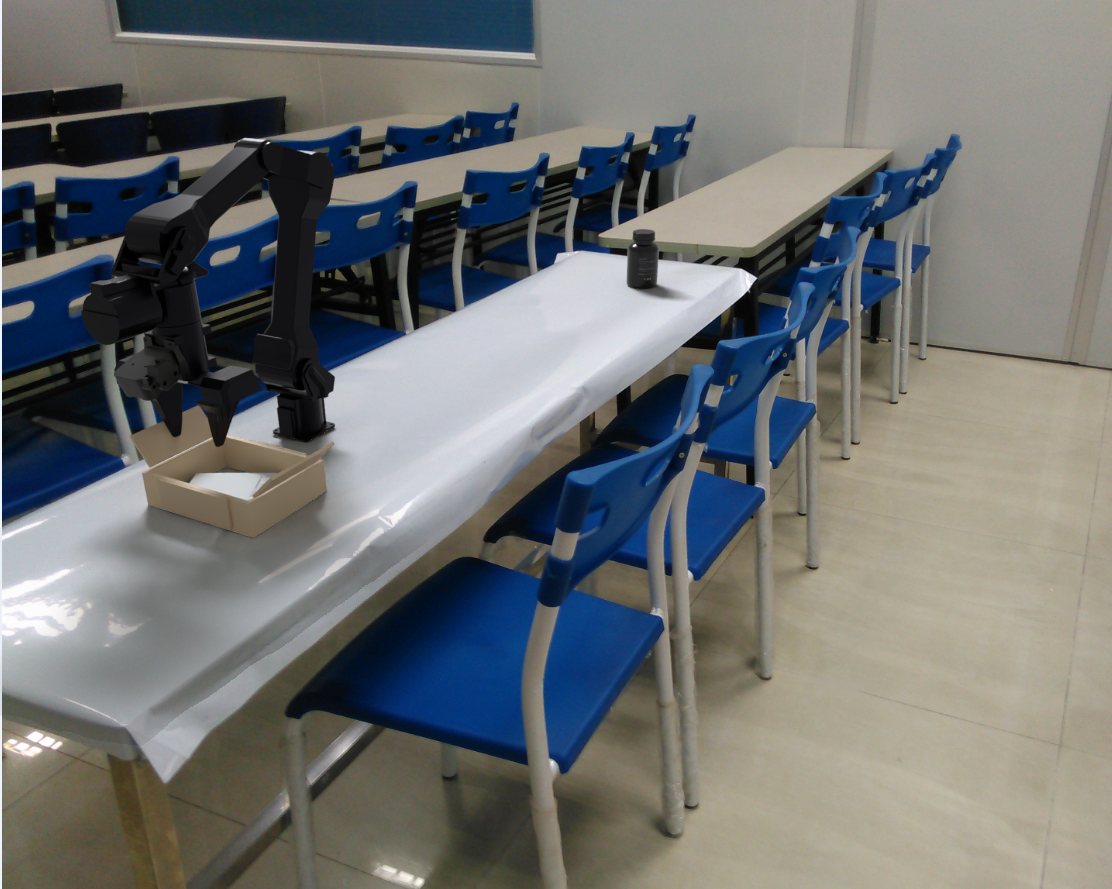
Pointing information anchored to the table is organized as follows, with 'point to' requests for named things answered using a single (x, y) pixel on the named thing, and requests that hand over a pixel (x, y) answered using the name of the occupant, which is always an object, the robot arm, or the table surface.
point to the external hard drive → (232, 483)
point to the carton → (245, 517)
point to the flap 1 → (162, 445)
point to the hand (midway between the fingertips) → (198, 440)
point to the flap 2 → (293, 470)
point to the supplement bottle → (642, 260)
